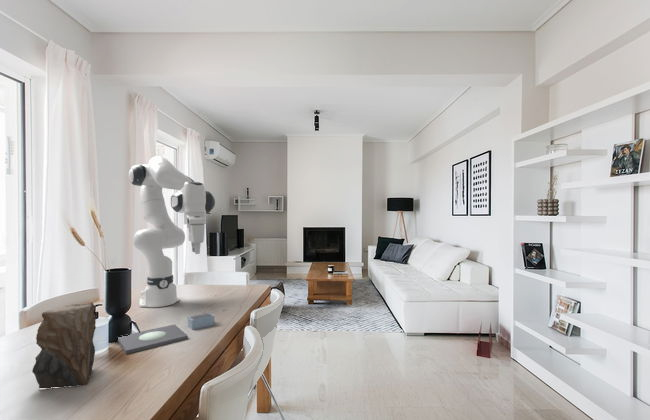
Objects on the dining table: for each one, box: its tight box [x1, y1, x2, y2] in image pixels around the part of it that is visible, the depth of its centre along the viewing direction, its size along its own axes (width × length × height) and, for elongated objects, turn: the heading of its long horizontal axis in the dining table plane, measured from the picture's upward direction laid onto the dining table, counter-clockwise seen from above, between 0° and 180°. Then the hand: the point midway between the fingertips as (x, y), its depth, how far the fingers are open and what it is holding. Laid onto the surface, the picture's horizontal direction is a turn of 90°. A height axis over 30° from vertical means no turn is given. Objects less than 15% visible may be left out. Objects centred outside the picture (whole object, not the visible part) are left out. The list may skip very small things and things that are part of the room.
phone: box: [187, 312, 215, 330], centre depth 136 cm, size 5×9×4 cm, turn 131°
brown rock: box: [31, 302, 97, 389], centre depth 94 cm, size 13×13×20 cm
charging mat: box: [117, 324, 189, 355], centre depth 121 cm, size 16×20×1 cm
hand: (195, 252), depth 137 cm, fingers open, 8 cm apart
